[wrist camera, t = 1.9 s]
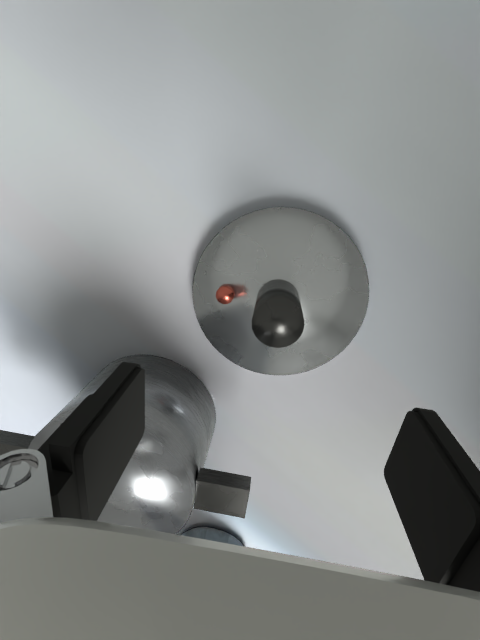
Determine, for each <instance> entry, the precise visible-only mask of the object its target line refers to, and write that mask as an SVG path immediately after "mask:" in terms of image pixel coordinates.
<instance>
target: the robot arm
mask: <svg viewBox="0 0 480 640" xmlns="http://www.w3.org/2000/svg"><path fill="white" fill-rule="evenodd" d="M144 430H145V370H144V369H143V368H141V367H140V364H137V363H131V362H125V361H124V362H122V363H121V364H120V365H119V366H118V367H117V368H116V369H115V370H114V372H113V373H112V374H111V375H110V376H109V377H108V378H107V379H106V380H105V381H104V383H103V384H102V385H101V386H100V387H99V388H98V389H97V390H96V391H95V393H94V394H90V395H88V396H87V397H86V398H85V399H84V400H83V401H82V402H81V403H80V404H79V406H78V407H77V408H76V409H75V410H74V411H73V412H72V413H71V414H70V415H69V416H68V417H67V419H66V420H65V421H64V422H63V423H62V424H61V425H60V426H59V427H58V428H57V429H56V430H55V431H54V433H53V434H52V435H51V436H50V437H49V438H48V439H47V440H46V441H45V442H44V443H43V444H42V446H41V447H40V448H39V449H38V450H34V449H19V450H14V451H10V452H8V453H5V454H3V455H1V456H0V640H480V471H479V470H478V468H477V467H476V466H475V464H474V463H473V462H472V460H471V459H470V458H469V456H468V455H467V453H466V452H465V451H464V449H463V448H462V447H461V445H460V444H459V443H458V441H457V440H456V439H455V437H454V436H453V435H452V433H451V432H450V431H449V429H448V428H447V427H446V425H445V424H444V423H443V421H442V420H441V418H440V417H439V416H438V414H437V413H436V412H435V411H433V410H427V409H421V408H414V409H413V410H412V411H409V412H407V414H406V416H405V419H404V421H403V424H402V426H401V429H400V431H399V433H398V436H397V438H396V441H395V443H394V446H393V448H392V451H391V453H390V455H389V458H388V460H387V463H386V465H385V468H384V477H385V480H386V483H387V485H388V488H389V490H390V493H391V495H392V498H393V500H394V503H395V506H396V508H397V511H398V513H399V516H400V518H401V521H402V524H403V526H404V529H405V531H406V534H407V536H408V539H409V541H410V544H411V547H412V549H413V552H414V554H415V557H416V559H417V562H418V564H419V567H420V570H421V572H422V575H423V577H424V580H419V579H414V578H409V577H404V576H398V575H393V574H388V573H383V572H378V571H372V570H367V569H362V568H357V567H351V566H346V565H341V564H336V563H330V562H325V561H320V560H314V559H309V558H303V557H298V556H293V555H287V554H282V553H276V552H271V551H266V550H260V549H255V548H249V547H244V546H238V545H233V544H227V543H222V542H216V541H211V540H205V539H200V538H194V537H188V536H183V535H177V534H172V533H166V532H160V531H155V530H149V529H143V528H137V527H131V526H124V525H118V524H112V523H106V522H99V521H97V520H98V518H99V516H100V514H101V513H102V511H103V509H104V507H105V505H106V503H107V501H108V500H109V498H110V496H111V494H112V492H113V490H114V489H115V487H116V485H117V483H118V481H119V479H120V477H121V476H122V474H123V472H124V470H125V468H126V466H127V465H128V463H129V461H130V459H131V457H132V455H133V453H134V452H135V450H136V448H137V446H138V444H139V442H140V441H141V439H142V437H143V434H144Z"/></svg>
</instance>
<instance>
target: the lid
mask: <svg viewBox="0 0 480 640" xmlns="http://www.w3.org/2000/svg"><path fill="white" fill-rule="evenodd" d="M368 300H369V280H368V275H367V270H366V267H365V264H364V261H363V259H362V256H361V254H360V253H359V251H358V249H357V247H356V246H355V244H354V243H353V242H352V240H351V239H350V238H349V236H347V235H346V234H345V233H344V232H343V231H342V230H341V229H340V228H339V227H338V226H336V225H335V224H334V223H332V222H331V221H329V220H327V219H325V218H324V217H322V216H320V215H318V214H315V213H312V212H309V211H306V210H302V209H297V208H290V207H274V208H266V209H261V210H257V211H254V212H251V213H249V214H246V215H244V216H242V217H240V218H238V219H236V220H234V221H233V222H231V223H230V224H229V225H227V226H226V227H224V228H223V229H222V230H221V231H220V232H219V233H218V234H217V235H216V236H215V237H214V238H213V239H212V240H211V242H210V243H209V244H208V245H207V247H206V249H205V250H204V252H203V254H202V256H201V258H200V260H199V263H198V265H197V268H196V272H195V276H194V282H193V302H194V309H195V313H196V316H197V319H198V322H199V324H200V327H201V329H202V330H203V332H204V334H205V336H206V337H207V339H208V340H209V341H210V342H211V344H212V345H213V346H214V347H215V348H216V349H217V350H218V351H219V352H220V353H221V354H222V355H223V356H225V357H226V358H227V359H229V360H230V361H232V362H233V363H235V364H237V365H239V366H241V367H243V368H245V369H248V370H251V371H254V372H258V373H262V374H269V375H291V374H298V373H302V372H306V371H309V370H312V369H315V368H317V367H319V366H321V365H323V364H325V363H327V362H328V361H330V360H331V359H333V358H334V357H336V356H337V355H338V354H339V353H340V352H342V351H343V350H344V349H345V348H346V347H347V346H348V344H349V343H350V342H351V341H352V339H353V338H354V337H355V335H356V334H357V332H358V330H359V328H360V326H361V325H362V322H363V320H364V317H365V314H366V310H367V306H368Z"/></svg>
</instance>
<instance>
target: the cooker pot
mask: <svg viewBox="0 0 480 640" xmlns="http://www.w3.org/2000/svg"><path fill="white" fill-rule="evenodd" d="M124 361H125V362H131V363H137V364H140V367H141V368H143V369H144V370H145V430H144V434H143V437H142V439H141V441H140V442H139V444H138V446H137V448H136V450H135V452H134V453H133V455H132V457H131V459H130V461H129V463H128V465H127V466H126V468H125V470H124V472H123V474H122V476H121V477H120V479H119V481H118V483H117V485H116V487H115V489H114V490H113V492H112V494H111V496H110V498H109V500H108V501H107V503H106V505H105V507H104V509H103V511H102V513H101V514H100V516H99V518H98V520H97V521H99V522H106V523H112V524H118V525H124V526H131V527H137V528H143V529H149V530H155V531H160V532H166V533H172V534H176V533H177V532H179V531H180V530H181V529H182V528H183V526H184V525H185V524H186V522H187V521H188V519H189V516H190V514H191V511H192V507H193V504H194V508H195V509H200V510H205V511H210V512H215V513H220V514H226V515H231V516H236V517H241V518H245V513H246V508H247V502H248V497H249V492H250V482H251V477H248V476H243V475H238V474H232V473H227V472H221V471H216V470H211V469H205V468H204V464H205V461H206V457H207V453H208V450H209V446H210V443H211V439H212V436H213V432H214V428H215V423H216V413H215V407H214V404H213V401H212V398H211V396H210V394H209V392H208V391H207V389H206V387H205V386H204V385H203V384H202V382H201V381H200V380H199V379H198V378H197V377H196V376H195V375H194V374H192V373H191V372H190V371H189V370H187V369H186V368H184V367H183V366H181V365H179V364H177V363H175V362H173V361H171V360H168V359H165V358H162V357H157V356H151V355H133V356H127V357H124V358H121V359H118V360H116V361H114V362H112V363H111V364H109V365H108V366H107V367H106V368H105V369H103V370H102V371H101V372H100V373H99V374H98V375H97V376H96V377H95V378H94V379H93V380H92V381H91V382H90V383H89V384H88V385H87V386H86V387H85V388H84V389H83V390H82V391H81V392H80V393H79V394H78V395H77V396H76V397H75V398H74V399H73V400H72V401H71V402H70V403H68V404H67V405H66V406H65V407H64V408H63V409H62V410H61V411H60V412H59V413H58V414H57V415H56V416H55V417H54V418H53V419H52V420H51V421H50V422H49V423H48V424H47V425H46V426H45V427H44V428H43V429H42V430H41V431H40V432H39V433H38V434H37V435H36V436H29V435H24V434H19V433H13V432H8V431H3V430H0V456H1V455H3V454H5V453H8V452H10V451H14V450H19V449H34V450H38V449H39V448H40V447H41V446H42V444H43V443H44V442H45V441H46V440H47V439H48V438H49V437H50V436H51V435H52V434H53V433H54V431H55V430H56V429H57V428H58V427H59V426H60V425H61V424H62V423H63V422H64V421H65V420H66V419H67V417H68V416H69V415H70V414H71V413H72V412H73V411H74V410H75V409H76V408H77V407H78V406H79V404H80V403H81V402H82V401H83V400H84V399H85V398H86V397H87V396H88V395H90V394H94V393H95V391H96V390H97V389H98V388H99V387H100V386H101V385H102V384H103V383H104V381H105V380H106V379H107V378H108V377H109V376H110V375H111V374H112V373H113V372H114V370H115V369H116V368H117V367H118V366H119V365H120V364H121V363H122V362H124ZM194 500H195V503H194Z"/></svg>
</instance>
